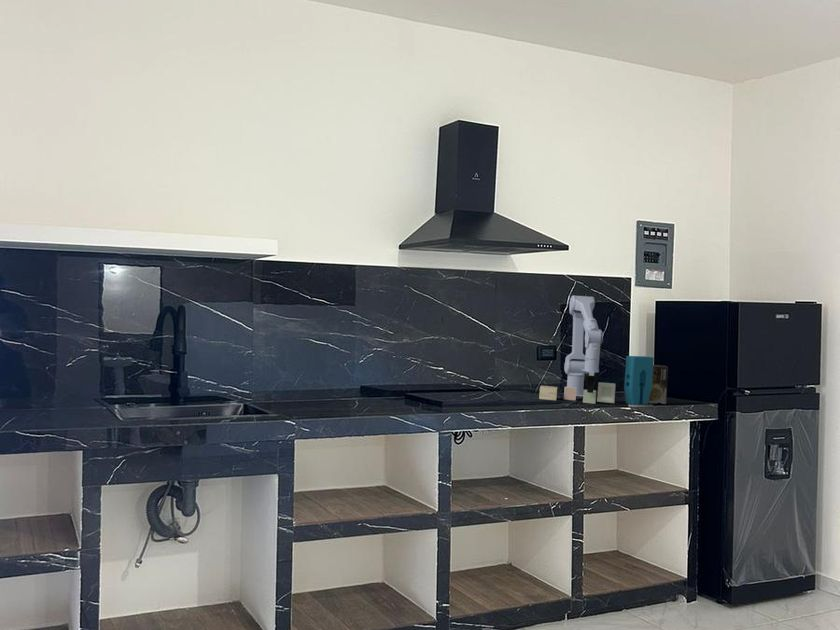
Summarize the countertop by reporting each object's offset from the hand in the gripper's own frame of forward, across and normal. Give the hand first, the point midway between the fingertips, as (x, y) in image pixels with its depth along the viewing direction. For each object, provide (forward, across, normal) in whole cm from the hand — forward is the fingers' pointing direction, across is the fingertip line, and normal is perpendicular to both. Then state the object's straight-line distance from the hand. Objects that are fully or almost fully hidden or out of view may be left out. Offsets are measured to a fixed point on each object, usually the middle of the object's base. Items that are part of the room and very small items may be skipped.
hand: (589, 391), depth 364 cm
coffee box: (+5, -20, +28) cm, 35 cm away
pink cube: (+4, -6, -8) cm, 11 cm away
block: (+5, -10, +20) cm, 23 cm away
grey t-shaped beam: (+4, -7, +7) cm, 11 cm away
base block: (+5, -1, -17) cm, 18 cm away
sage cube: (+5, 0, 0) cm, 5 cm away
